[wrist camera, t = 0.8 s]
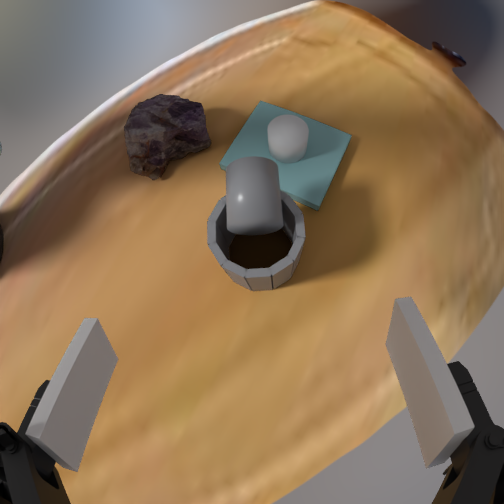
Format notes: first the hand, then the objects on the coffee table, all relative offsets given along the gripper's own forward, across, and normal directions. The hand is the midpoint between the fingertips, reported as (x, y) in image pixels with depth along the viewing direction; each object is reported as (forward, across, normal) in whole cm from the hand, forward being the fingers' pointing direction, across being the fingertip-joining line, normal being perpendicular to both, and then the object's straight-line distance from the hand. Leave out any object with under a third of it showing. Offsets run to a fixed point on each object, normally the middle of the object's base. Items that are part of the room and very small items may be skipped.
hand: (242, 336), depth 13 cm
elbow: (+24, 0, -10) cm, 26 cm away
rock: (+36, -12, +2) cm, 38 cm away
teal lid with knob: (+34, +4, 0) cm, 34 cm away
